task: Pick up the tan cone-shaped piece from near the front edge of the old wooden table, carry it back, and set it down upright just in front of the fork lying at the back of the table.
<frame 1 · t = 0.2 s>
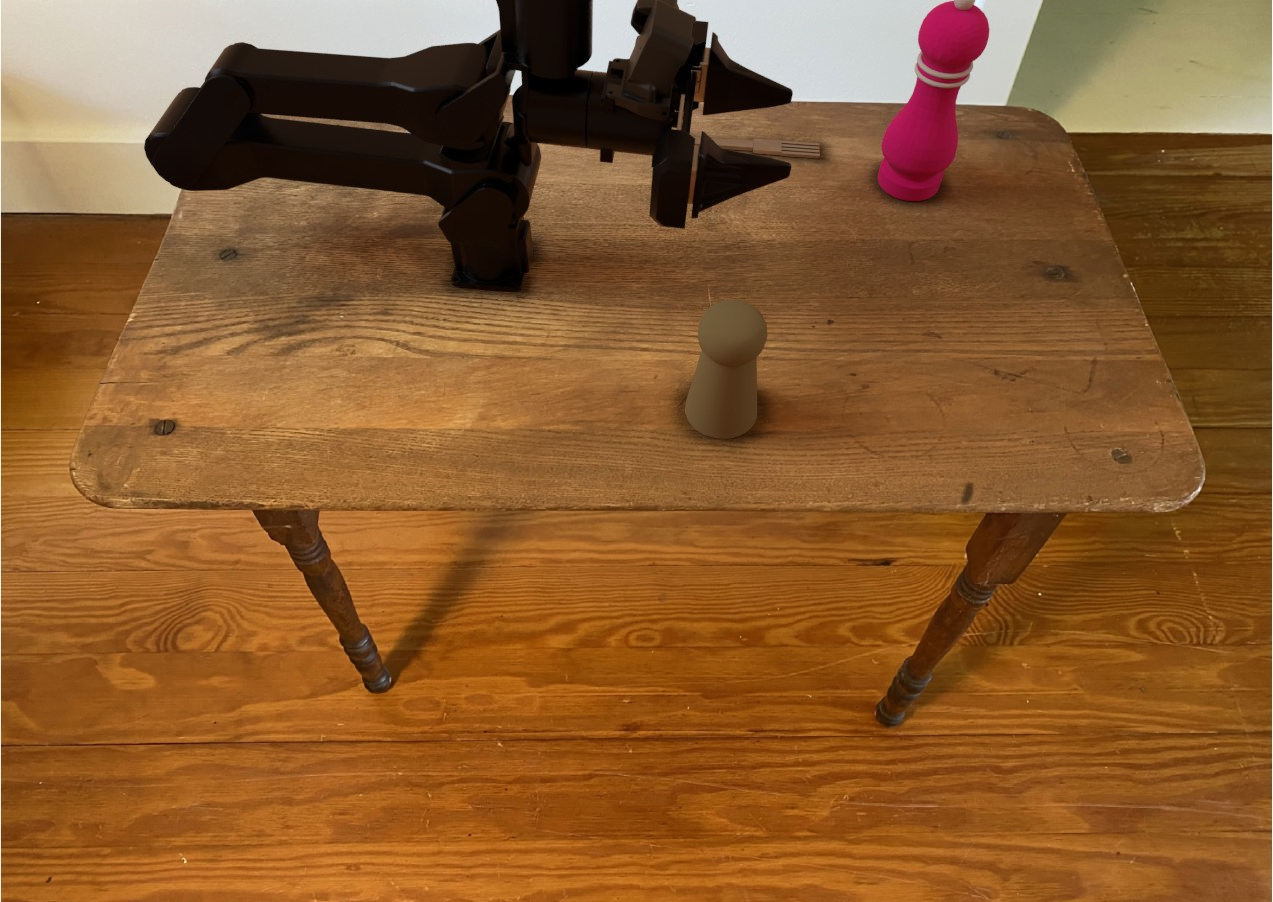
hand: (791, 132, 71), 17 cm above the table, tool horizontal, fingers open, 9 cm apart
tan cone-shaped piece: (720, 411, 76), on the table
pepper mill: (907, 184, 94), on the table
fork: (733, 146, 97), on the table
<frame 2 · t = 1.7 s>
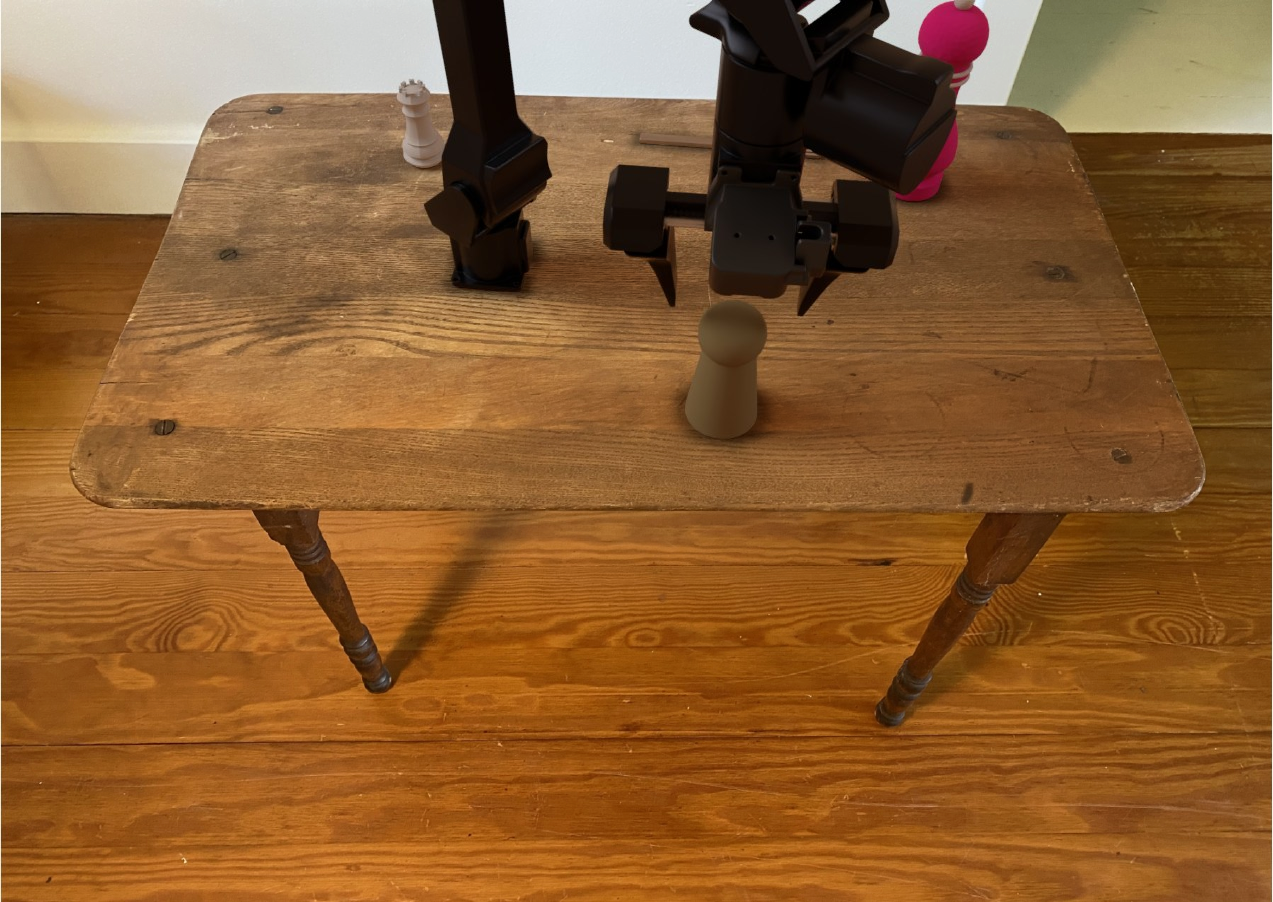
hand: (736, 307, 67), 12 cm above the table, tool pointing down, fingers open, 9 cm apart
nothing on the table moved.
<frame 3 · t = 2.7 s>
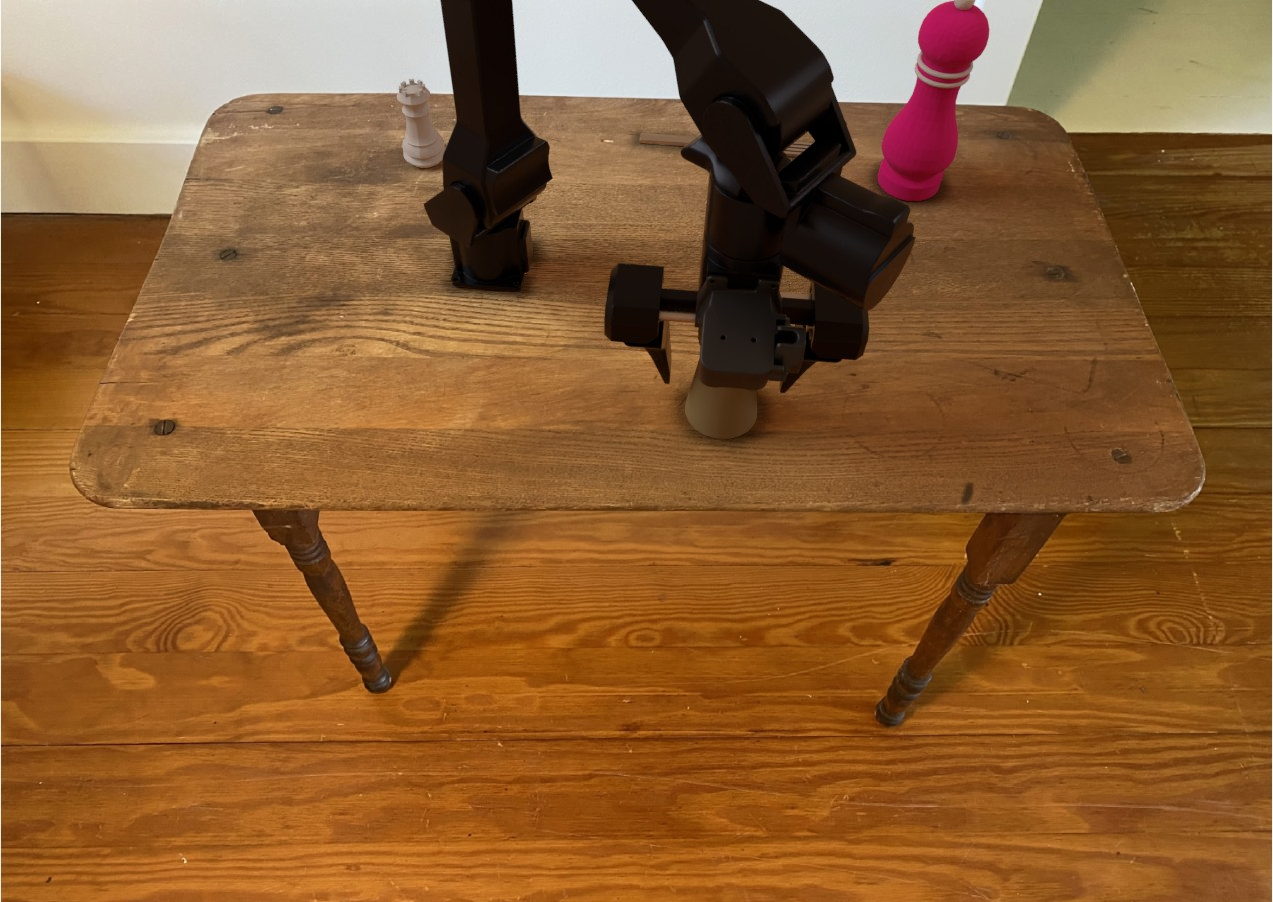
hand: (724, 384, 74), 3 cm above the table, tool pointing down
tan cone-shaped piece: (720, 411, 76), on the table, touching gripper
everything else where it was.
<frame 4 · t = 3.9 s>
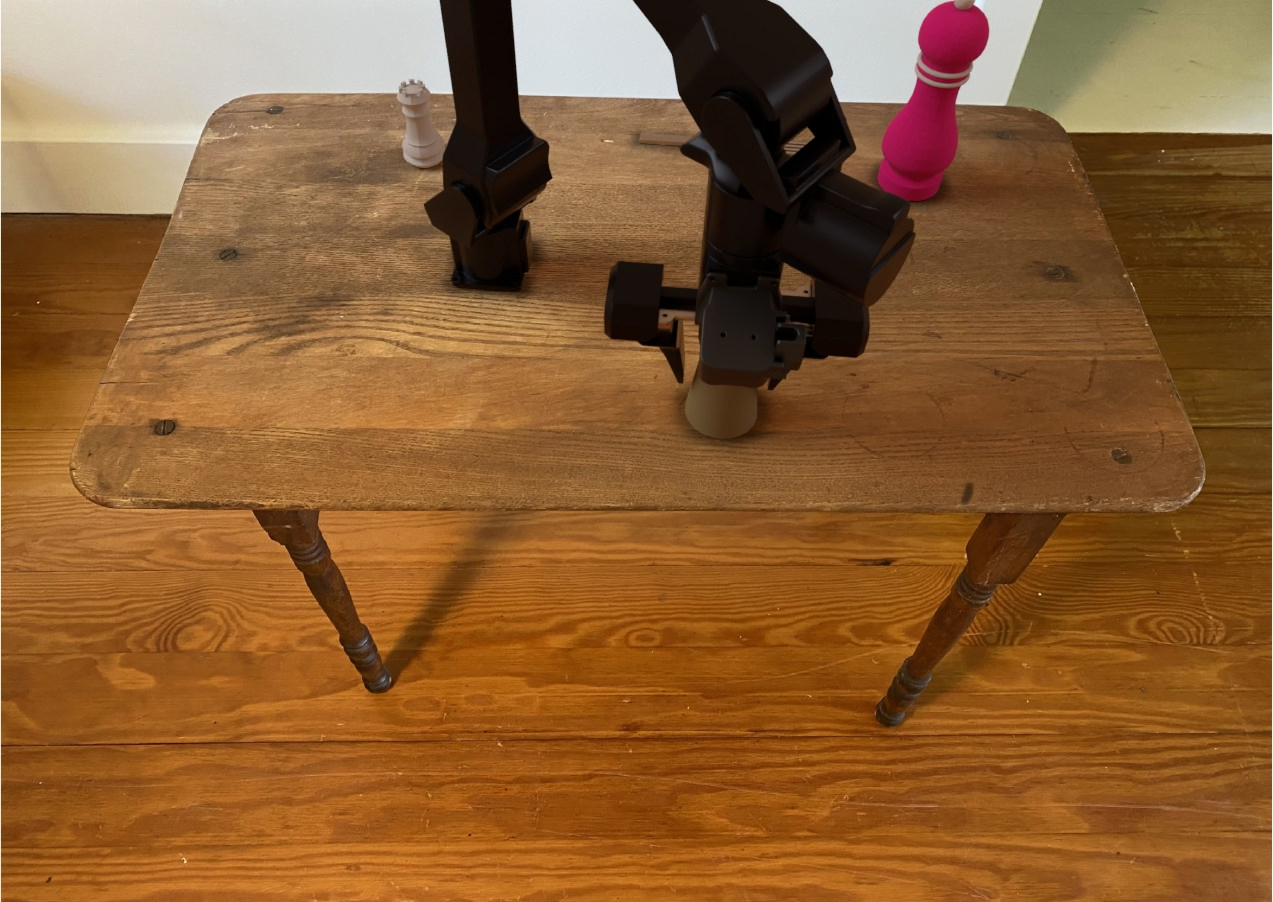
hand: (725, 383, 73), 4 cm above the table, tool pointing down, fingers closed on tan cone-shaped piece, 7 cm apart
tan cone-shaped piece: (720, 411, 76), on the table, touching gripper
everything else where it was.
when the fingers open (4 cm above the table, at t = 9.4 s): tan cone-shaped piece stays where it is, on the table.
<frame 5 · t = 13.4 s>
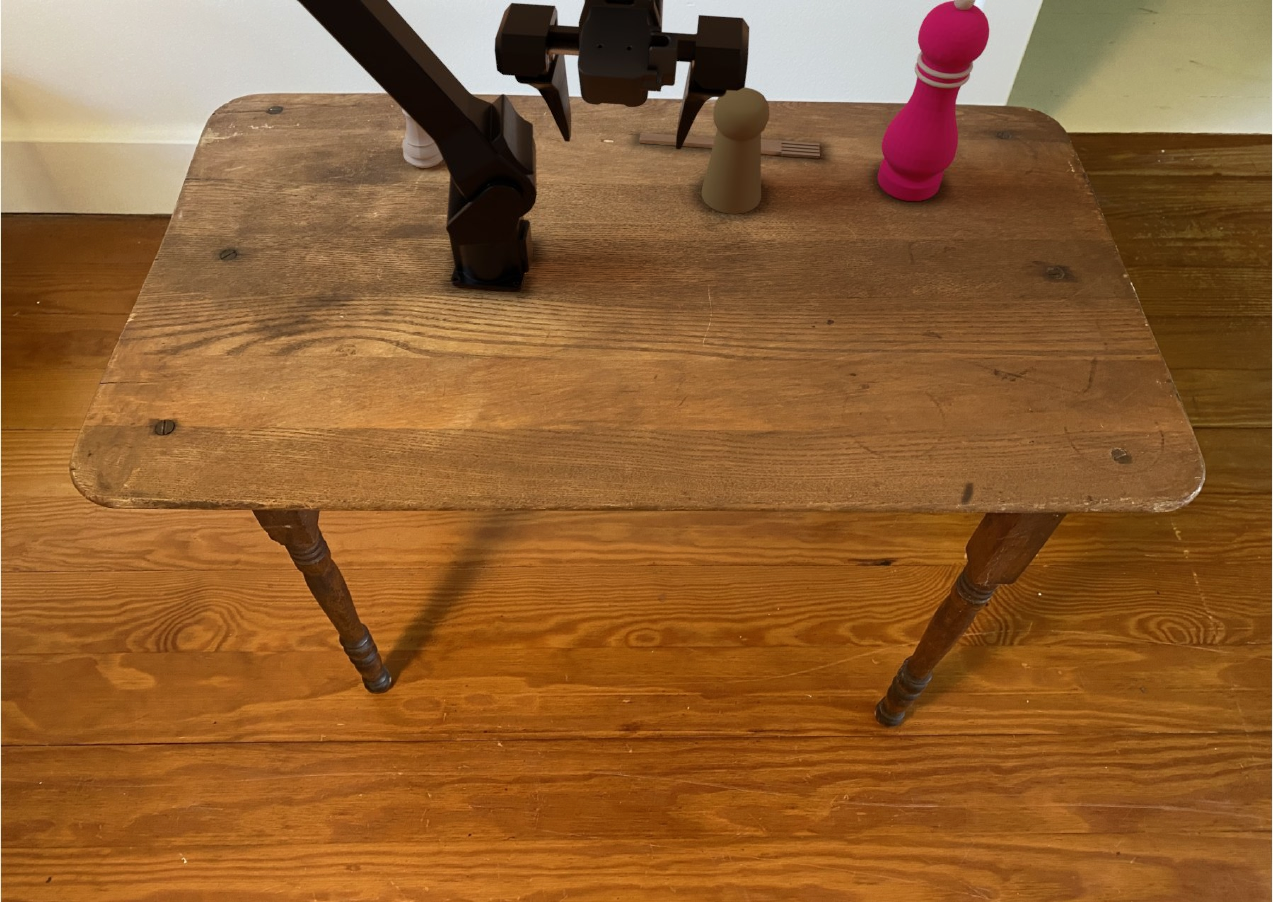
hand: (623, 142, 76), 13 cm above the table, tool pointing down, fingers open, 9 cm apart
tan cone-shaped piece: (731, 196, 93), on the table
everything else where it was.
at the end: tan cone-shaped piece inside the target area on the table beside the fork (0.5 cm from its centre), on the table; tan cone-shaped piece tilted 0°; fork moved 0.0 cm from its start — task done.
